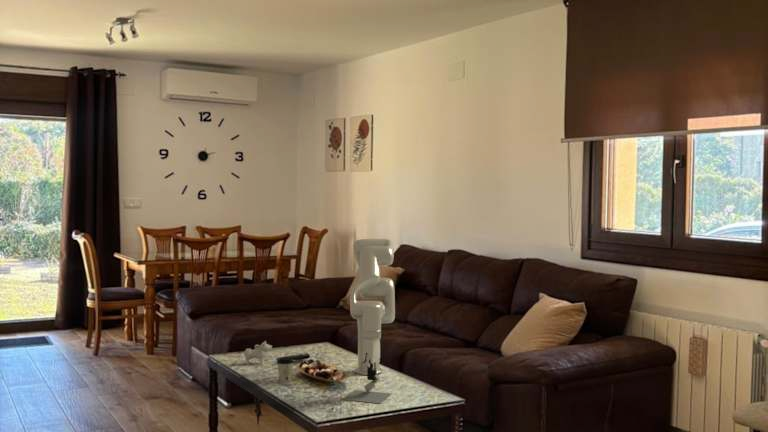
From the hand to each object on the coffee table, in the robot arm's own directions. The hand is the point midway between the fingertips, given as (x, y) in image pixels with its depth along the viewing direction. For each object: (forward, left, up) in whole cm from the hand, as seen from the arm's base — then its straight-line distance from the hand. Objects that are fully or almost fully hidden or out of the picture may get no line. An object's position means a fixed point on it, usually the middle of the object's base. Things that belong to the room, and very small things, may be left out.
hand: (371, 379), depth 308 cm
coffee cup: (-6, -42, -6) cm, 43 cm away
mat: (+4, -1, -6) cm, 7 cm away
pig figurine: (-29, -68, -7) cm, 74 cm away
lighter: (-4, -1, -4) cm, 5 cm away
